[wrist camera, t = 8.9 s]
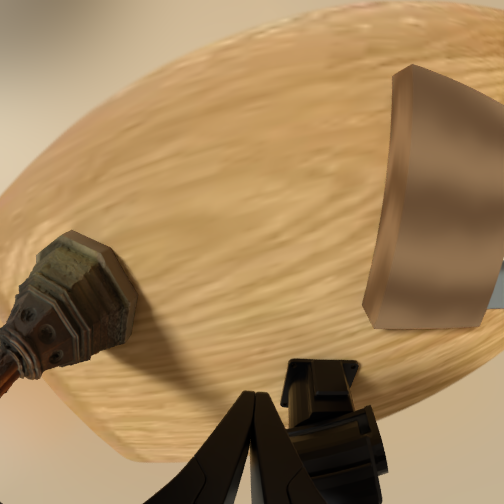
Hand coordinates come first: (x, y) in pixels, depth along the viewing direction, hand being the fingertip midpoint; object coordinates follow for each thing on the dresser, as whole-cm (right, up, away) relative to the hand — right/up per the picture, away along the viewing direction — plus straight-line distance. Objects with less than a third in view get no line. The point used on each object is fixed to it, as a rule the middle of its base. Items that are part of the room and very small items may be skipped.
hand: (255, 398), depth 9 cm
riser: (+15, +9, +10) cm, 20 cm away
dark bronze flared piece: (-14, +3, +14) cm, 20 cm away
